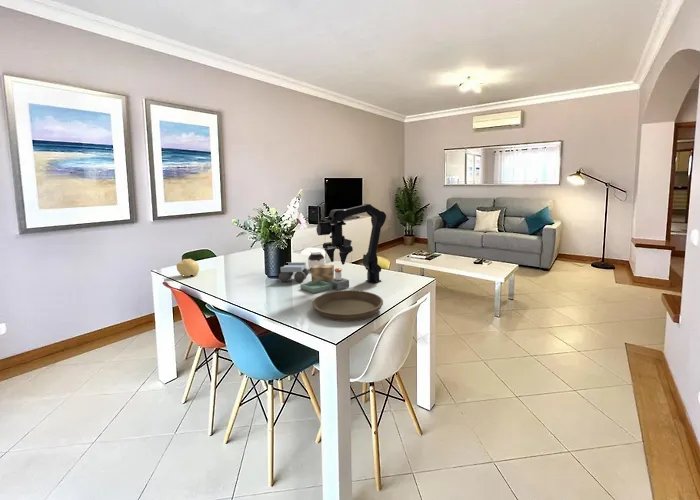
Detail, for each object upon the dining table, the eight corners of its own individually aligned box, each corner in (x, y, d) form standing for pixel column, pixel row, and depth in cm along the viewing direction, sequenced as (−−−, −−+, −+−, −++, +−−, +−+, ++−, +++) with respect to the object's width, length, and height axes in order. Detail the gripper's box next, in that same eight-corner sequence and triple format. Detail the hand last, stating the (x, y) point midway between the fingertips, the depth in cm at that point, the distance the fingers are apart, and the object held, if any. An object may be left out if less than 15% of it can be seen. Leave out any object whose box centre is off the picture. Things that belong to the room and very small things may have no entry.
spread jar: (320, 266, 245) (319, 249, 243) (329, 269, 236) (328, 252, 234) (304, 269, 238) (303, 251, 236) (313, 272, 229) (312, 254, 227)
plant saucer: (363, 329, 142) (362, 317, 141) (298, 316, 157) (297, 306, 156) (394, 304, 168) (394, 295, 168) (336, 296, 183) (335, 287, 182)
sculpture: (187, 273, 237) (185, 256, 235) (203, 274, 233) (201, 257, 231) (174, 277, 226) (172, 260, 224) (191, 278, 223) (189, 261, 221)
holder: (349, 287, 197) (349, 280, 196) (337, 290, 191) (337, 283, 191) (339, 284, 203) (339, 277, 202) (328, 287, 197) (327, 280, 197)
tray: (332, 288, 194) (332, 284, 194) (314, 293, 187) (313, 289, 186) (319, 284, 203) (319, 280, 203) (301, 288, 196) (300, 284, 195)
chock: (334, 280, 211) (333, 265, 210) (333, 283, 206) (332, 267, 204) (313, 280, 212) (312, 265, 211) (311, 283, 206) (311, 267, 205)
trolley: (308, 276, 220) (308, 262, 219) (304, 282, 208) (304, 267, 207) (284, 276, 221) (283, 262, 220) (278, 282, 210) (277, 267, 208)
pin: (343, 287, 197) (342, 269, 195) (338, 288, 195) (337, 270, 193) (339, 286, 200) (338, 268, 198) (333, 287, 197) (333, 269, 195)
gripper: (360, 234, 190) (360, 263, 193) (338, 230, 204) (338, 258, 207) (343, 236, 183) (344, 267, 186) (321, 232, 197) (322, 261, 200)
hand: (337, 263), depth 195 cm, fingers open, 9 cm apart
